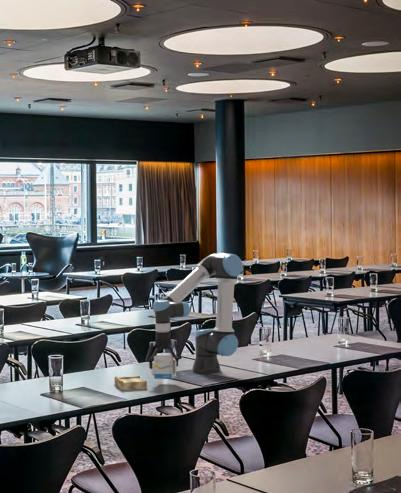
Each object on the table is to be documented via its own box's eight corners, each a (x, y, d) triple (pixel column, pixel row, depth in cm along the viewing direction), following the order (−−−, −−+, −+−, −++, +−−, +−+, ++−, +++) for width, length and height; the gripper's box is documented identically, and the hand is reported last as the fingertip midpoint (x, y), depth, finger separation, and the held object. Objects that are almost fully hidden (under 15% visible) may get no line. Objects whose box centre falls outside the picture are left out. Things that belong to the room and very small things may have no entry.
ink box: (170, 379, 449) (169, 356, 449) (153, 378, 451) (153, 355, 450) (174, 375, 458) (173, 352, 457) (158, 375, 460) (157, 352, 459)
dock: (139, 383, 458) (139, 374, 457) (146, 388, 444) (146, 379, 444) (114, 385, 453) (114, 376, 453) (121, 390, 440) (121, 381, 440)
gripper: (182, 328, 460) (183, 370, 462) (138, 331, 453) (139, 374, 454) (187, 330, 453) (188, 373, 455) (142, 333, 446) (143, 377, 447)
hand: (164, 374), depth 454 cm, fingers closed on ink box, 11 cm apart
